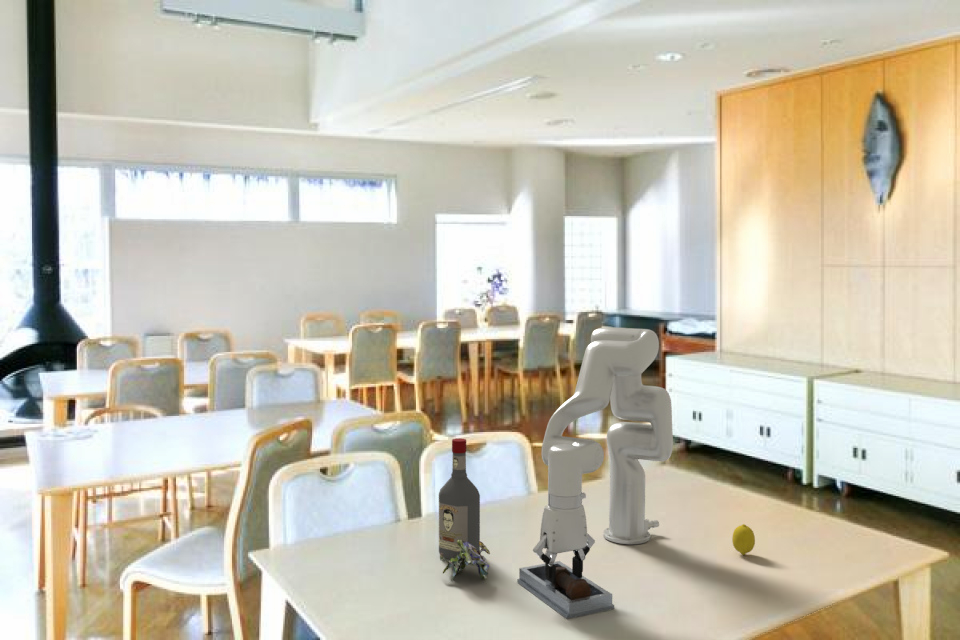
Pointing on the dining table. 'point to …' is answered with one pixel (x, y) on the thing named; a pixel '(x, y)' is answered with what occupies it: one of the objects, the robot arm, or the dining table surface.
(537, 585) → the tray
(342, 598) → the dining table surface
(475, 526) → the liquor
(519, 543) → the dining table surface
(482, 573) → the passion flower
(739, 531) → the lemon
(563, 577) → the bolt
